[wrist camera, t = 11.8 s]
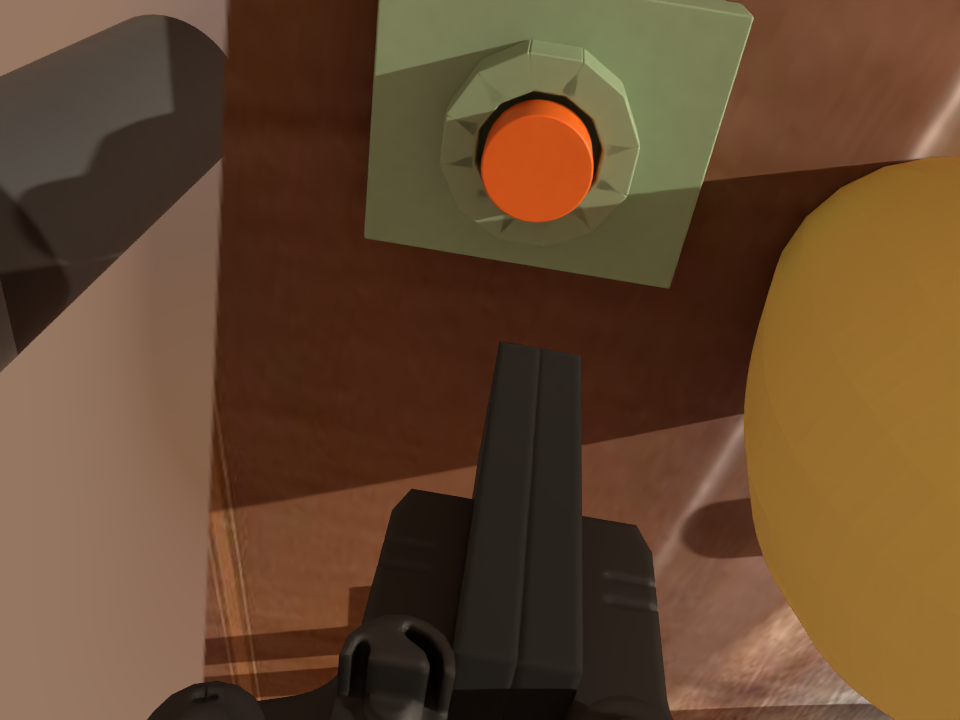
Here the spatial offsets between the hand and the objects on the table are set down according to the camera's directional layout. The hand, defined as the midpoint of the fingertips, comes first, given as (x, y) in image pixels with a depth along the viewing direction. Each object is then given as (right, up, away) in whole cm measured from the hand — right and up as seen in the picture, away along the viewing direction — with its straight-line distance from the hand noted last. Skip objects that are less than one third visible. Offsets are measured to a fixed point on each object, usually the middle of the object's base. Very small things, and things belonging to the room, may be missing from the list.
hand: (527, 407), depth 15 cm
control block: (+1, +10, +15) cm, 18 cm away
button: (+1, +8, +12) cm, 14 cm away
